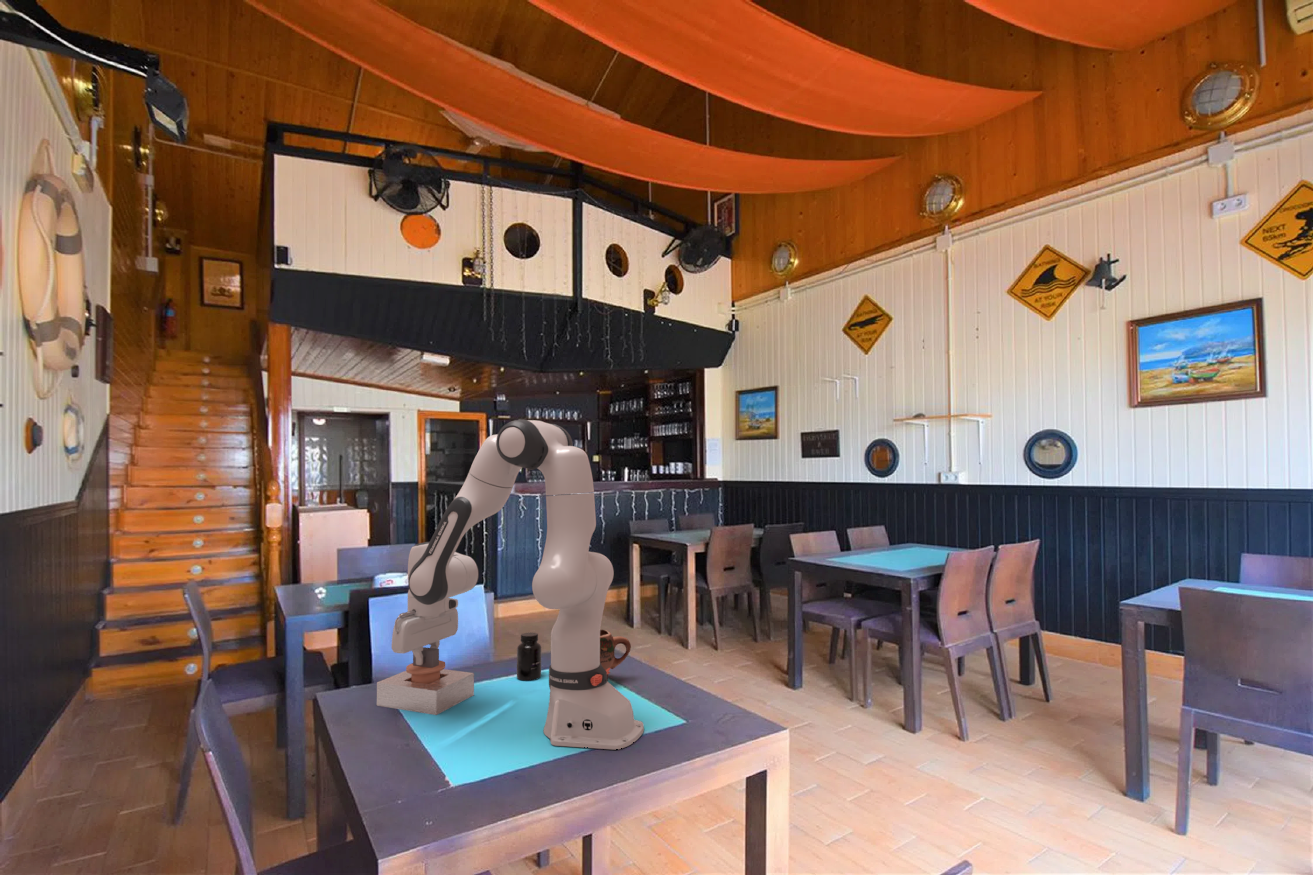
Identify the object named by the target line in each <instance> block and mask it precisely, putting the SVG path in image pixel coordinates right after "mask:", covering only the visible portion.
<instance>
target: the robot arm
mask: <svg viewBox="0 0 1313 875" xmlns="http://www.w3.org/2000/svg"><path fill="white" fill-rule="evenodd" d="M573 445H574V444H573V439H572V437H571V435H570V433H569V432H568V431H567V429H565V428H563V427H562V426H560V425H557V424H555V423H548V422H544V421H542V420H534V419H532V420H531V419H528V420H527V419H515V420H512V421H509V422H508V423H506V424H504V425H503V426H502V427H501V428H500V429H499V432H498V433H497V434H492V435H489V436H488V437H487V438H485V440H484V442H483V443H482V445H481V446H480V448H479V449H478V452H477V454H476V455H475V457H474V459H473V461H472V464H471V466H470V468H469V471H468V473H467V476H466V478H465V479H464V483H463V484H462V487H461V488H460V490H459V491H458V493H457V495H456V496H455V497H454V498H453V500H452V501H451V502H450V503H449V505H448V506H447V508H446V509H445V511H444V513H443V515H442V516H441V519H440V520H439V523H438V524H437V526H436V528H435V531H434V533H433V534H432V536H431V538H430V541H425V542H420V543H416V544H414V545H413V546H412V547H411V548H410V551H409V554H408V561H407V580H408V581H407V582H408V591H407V611H406V612H402V613H399V614H398V616H397V618H396V619H394V620H395V621H394V625H393V629H392V636H391V650H392V652H393V653H395V654H407V653H409V652H412V655H413V654H414V656H415V658H416V664H417V665H422V664H424V663H425V662H426V661H425V659H426V657H425V656H423V655H422V652H421V651H423V647H425V646H428V645H429V648H435V649H439V648H440V647H439V646H440V641H442V640H444V639H448V638H450V637H453V636H455V635H457V632H458V629H459V613H458V612H459V611H458V609H457V608H458V607H459V600H458V599H457V598H452V597H456V596H458V595H461V594H465V593H467V592H469V591H471V590H473V589H474V588H475V587H476V585H477V584H478V581H479V577H480V576H479V575H480V574H479V567H478V566H479V565H477V562H476V561H475V559H474V558H472V556H469V555H466V554H462V553H459V552H457V549H458V547H459V545H460V542H461V541H462V540H463V539H462V538H463V537H464V536H465V534H466V533H467V532H468V531H469V530H470V529H471V528H472V527H474V526H475V525H477V524H478V523H479V522H481V521H483V520H485V519H487V518H489V517H491V516H493V515H495V514H497V513H499V512H500V511H501V510H502V509H503V507H504V506H505V504H506V503H507V501H508V499H509V497H510V496H511V493H512V490H513V487H514V484H515V482H516V480H517V477H518V475H519V472H520V471H521V470H522V469H523V468H524V469H527V470H531V471H534V470H539V471H540V472H541V473H542V475H543V476H544V482H545V484H544V486H545V500H546V501H545V502H546V504H545V505H546V524H547V525H546V526H547V527H546V537H545V544H544V548H543V554H542V558H541V560H540V561H541V562H540V564H539V566H538V569H537V571H536V572H535V574H534V575H533V577H532V583H531V589H532V593H533V597H534V599H535V600H536V602H537V603H538V604H539V605H541V606H542V607H543V608H545V609H548V610H559V611H558V614H557V618H556V620H555V622H554V624H553V625H552V629H551V632H550V665H549V667H548V687H549V690H550V691H549V700H548V701H549V702H548V709H547V714H546V720H545V723H544V727H543V734H544V735H545V736H546V737H547V738H549V740H550V741H549V742H550V744H551V745H552V746H556V747H557V746H558V747H571V748H572V747H573V748H584V747H585V749H599V750H603V749H604V750H613V751H614V750H616V749H618V750H622V749H624V748H626V747H627V748H628V747H629V746H630V745H632V744H634V743H635V742H636V741H638V739H640V737H641V736H642V735H643V734H644V730H645V727H644V726H645V725H644V723H643V721H641V720H637V719H635V718H634V709H633V706H632V705H633V704H632V702H631V701H630V700H629V699H628V698H627V697H626V696H625V695H624V694H622V693H621V692H620V691H619V690H618V689H616V687H614V686H613V685H612V684H611V683H610V682H609V681H608V682H607V674H608V675H609V674H610V673H611V671H610V670H611V668H608V669H607V670H605V669H604V668H603V667H602V665H601V663H600V629H602V628H601V627H602V626H601V625H602V620H603V614H604V609H605V605H606V599H607V594H608V591H609V589H610V586H611V584H612V582H613V579H614V567H613V564H612V562H611V561H610V559H609V558H608V557H607V556H605V555H604V554H602V553H600V552H595V551H589V550H590V545H591V540H592V537H593V533H594V532H595V530H596V527H597V518H596V506H595V504H596V501H595V490H594V489H595V487H594V480H593V474H592V468H591V464H590V459H589V456H588V454H587V453H586V451H584V449H582V448H579V447H577V446H573ZM633 742H634V743H633ZM587 747H588V748H587ZM621 748H622V749H621Z"/></svg>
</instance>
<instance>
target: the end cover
mask: <svg viewBox="0 0 1313 875" xmlns="http://www.w3.org/2000/svg"><path fill="white" fill-rule="evenodd" d="M421 652H422V655H423V656H425V657H426V659H425V661H426V662H425V663H424V664H422V665H417V664H416V658H415V656H414V654H413V653H412V663H409V664H408V665H406V669H405V671H406V672H407V673H410V674H411V682H416V683H424V684H430V683H432V682H434V681H436V680H438V679H440V671H441V670H443V669H445V668H446V662H445V661H443V660H440V649H439V648H438V649H435V648H430V647H425V646H423V651H421Z"/></svg>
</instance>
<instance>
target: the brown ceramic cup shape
mask: <svg viewBox="0 0 1313 875" xmlns="http://www.w3.org/2000/svg"><path fill="white" fill-rule="evenodd" d="M618 645H624V647H625V652H624V653H623V655H622V656H621V657H619V658H618V657H616V656H615V650H616V646H618ZM631 645H632V644H631V642H630V641H629V639H628V638H627V637H624V636H621V635H619V636H618V635H617V636H612V633H611V632H610V631H609V630H606V629H602V628H600V663H601V665H602V667H603V668H604V669H605V670H607V669H608V668H610V670H614V669H615V668H616V667H618V666H619V665H621V664H622V663H623V662H624V661H625V660H626V658H627V657H628V655H629V654H630V652H631V648H632V646H631ZM608 680H609V674H607V682H609V681H608Z"/></svg>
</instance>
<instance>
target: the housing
mask: <svg viewBox="0 0 1313 875" xmlns="http://www.w3.org/2000/svg"><path fill="white" fill-rule="evenodd" d="M474 695H475V673H474V672H468V671H463V670H462V671H460V670H453V669H445V668H444V669H443V670H441V671H440V679H438V680H436V681H434V682H432V683H430V684H424V683H416V682H411V674H410V673H407V672H406V670H404V671H401V672H398V673H397V674H395V675H391V676H389V677H387V678H385V679H382V680H380V681H377V682H376V706H377V707H383V708H390V709H396V710H403V711H409V712H415V713H421V714H428V715H433V716H437V715H440V714H441V713H443V712H445V711H446V710H449V709H450V708H452V707H455V706H456V705H458V704H460V703H462V702H464V701H465V700H468V699H469V698H472V697H474Z"/></svg>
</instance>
